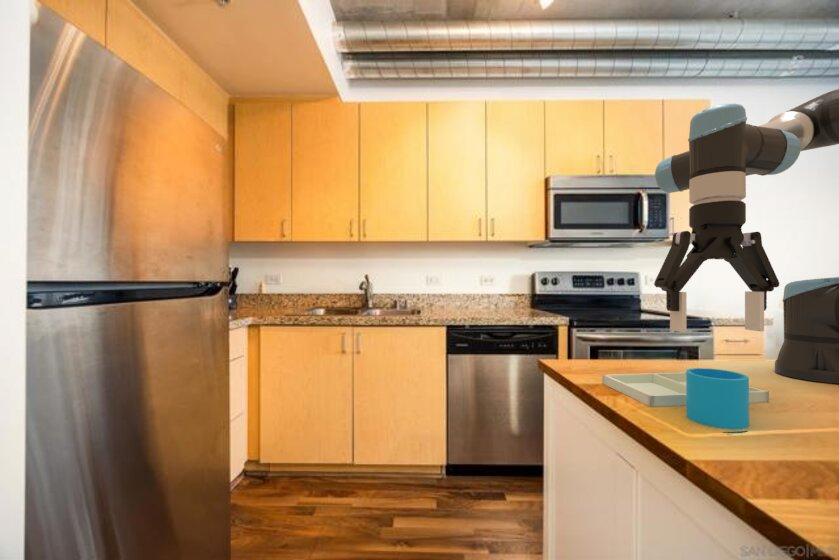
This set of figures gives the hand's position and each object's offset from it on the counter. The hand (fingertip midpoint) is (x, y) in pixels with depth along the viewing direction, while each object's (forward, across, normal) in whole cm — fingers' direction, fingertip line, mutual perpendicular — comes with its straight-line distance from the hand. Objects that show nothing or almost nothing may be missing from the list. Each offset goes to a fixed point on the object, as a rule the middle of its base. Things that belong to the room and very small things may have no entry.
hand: (716, 331), depth 66 cm
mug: (+15, 0, 0) cm, 15 cm away
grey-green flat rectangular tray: (+15, -4, -14) cm, 21 cm away
